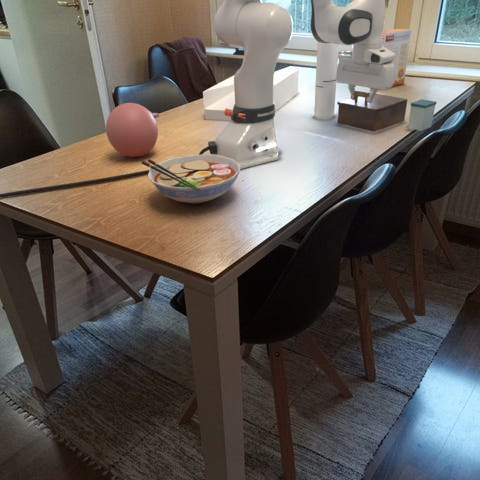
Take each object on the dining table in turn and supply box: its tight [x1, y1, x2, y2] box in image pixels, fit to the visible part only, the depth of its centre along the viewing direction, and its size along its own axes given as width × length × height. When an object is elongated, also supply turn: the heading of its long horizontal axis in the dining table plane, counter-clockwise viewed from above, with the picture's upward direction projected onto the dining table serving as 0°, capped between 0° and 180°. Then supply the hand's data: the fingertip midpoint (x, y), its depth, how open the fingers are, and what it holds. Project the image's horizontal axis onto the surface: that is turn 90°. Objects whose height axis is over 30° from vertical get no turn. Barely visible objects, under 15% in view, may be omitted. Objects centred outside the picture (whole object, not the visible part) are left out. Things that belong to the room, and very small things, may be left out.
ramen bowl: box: [141, 153, 241, 205], centre depth 121 cm, size 25×23×8 cm
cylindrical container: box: [313, 41, 340, 119], centre depth 169 cm, size 7×7×25 cm
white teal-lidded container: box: [407, 98, 437, 132], centre depth 157 cm, size 6×5×8 cm
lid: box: [336, 90, 408, 112], centre depth 162 cm, size 17×16×5 cm
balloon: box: [105, 102, 160, 158], centre depth 149 cm, size 15×20×15 cm
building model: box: [202, 69, 299, 122], centre depth 192 cm, size 45×22×10 cm, turn 157°
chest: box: [337, 101, 408, 133], centre depth 165 cm, size 17×16×7 cm
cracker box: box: [382, 27, 412, 87], centre depth 204 cm, size 14×6×21 cm, turn 121°
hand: (361, 100), depth 159 cm, fingers closed on lid, 5 cm apart
